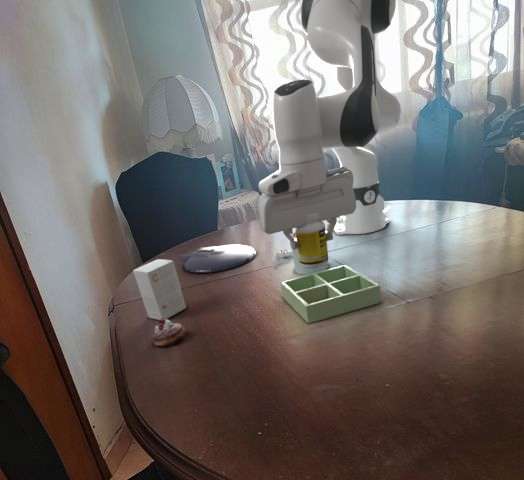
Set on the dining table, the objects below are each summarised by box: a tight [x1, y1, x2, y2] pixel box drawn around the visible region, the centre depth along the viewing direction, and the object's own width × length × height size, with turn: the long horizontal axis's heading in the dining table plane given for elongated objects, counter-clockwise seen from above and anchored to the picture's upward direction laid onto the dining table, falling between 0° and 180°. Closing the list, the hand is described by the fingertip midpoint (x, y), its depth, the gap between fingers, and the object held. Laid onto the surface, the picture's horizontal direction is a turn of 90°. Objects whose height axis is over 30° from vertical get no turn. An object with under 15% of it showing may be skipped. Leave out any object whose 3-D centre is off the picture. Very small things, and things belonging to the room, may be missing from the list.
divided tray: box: [280, 264, 382, 324], centre depth 108 cm, size 17×17×4 cm
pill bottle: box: [294, 213, 329, 268], centre depth 97 cm, size 6×6×11 cm
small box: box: [132, 258, 187, 321], centre depth 116 cm, size 8×6×13 cm
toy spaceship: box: [177, 244, 257, 274], centre depth 152 cm, size 28×24×3 cm
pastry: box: [152, 317, 186, 347], centre depth 104 cm, size 8×8×5 cm
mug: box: [290, 231, 329, 275], centre depth 125 cm, size 14×9×10 cm
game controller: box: [275, 248, 293, 266], centre depth 139 cm, size 6×12×3 cm, turn 176°
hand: (311, 244), depth 97 cm, fingers closed on pill bottle, 6 cm apart
